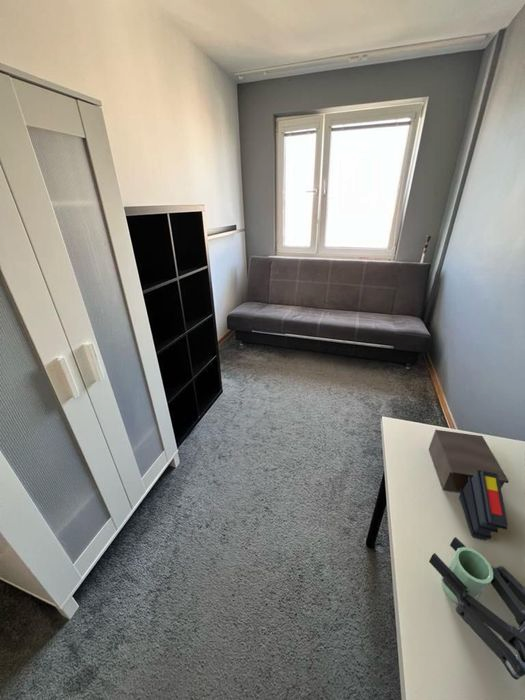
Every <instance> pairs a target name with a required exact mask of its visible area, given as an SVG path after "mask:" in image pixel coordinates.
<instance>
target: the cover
mask: <svg viewBox="0 0 525 700" xmlns="http://www.w3.org/2000/svg"><path fill="white" fill-rule="evenodd" d="M434 433H436V435H437V438H438V440H439V443H440V445H441V448H442V451H443V453H444V456H445V458H446V461H447V463H448V466H449V468H450V471H451V473H452V474H454V475H461V476H467V477H469V476H470V477H474V476H475V475H476V474H477V470H481V471H487V472H492V473H497V474H498V477H499V482H503V483H504V484H509V483H510V480H509V479H508V477H507V475H506V474H505V472H504V470H503V468H502V466H501V465H500V464H499V462H498V460H497V458H496V457H495V455H494V453H493V452H492V450H491V448H490V446H489V445H488V443H487V441H486V440H485V438H484V437H483V435H478V434H470V433H463V432H455V431H449V430H442V429H435V430H434Z"/></svg>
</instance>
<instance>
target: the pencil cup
mask: <svg viewBox="0 0 525 700" xmlns="http://www.w3.org/2000/svg"><path fill="white" fill-rule="evenodd" d="M446 566H447V567H448V568H449V569H450V570H451V571H452V572H453V573H454V574H455V575H456V576H457V577H458V578H459V579H460V580H461V582H462V583H463V584H464V585H465V586H466V587H467V588H466V590H467V591H468V594H469V595H470V596H472V597H473V598H474V599H476V600H477V601H478V600H479V598H480V597H481V596H482V594H483V593H484V592H485V590H486V589H487V588H488V587H489V585H490V584H491V583H490V582H491V581H492V580H493V570H492V568H491V567H492V565H491V564H490V562H489V561H488V560H487V559H486V557H485V556H483V555H482V553H480V552H479V551H477V550H475V549H474V548H471V547H467V546H466V547H462V548H459V549H458V550H457V551H455V552H454V554H453V555H452V557H451V559H450V561H449V563H448V565H446ZM442 579H443V577H442V576H441V587H442V588H443V590H444V592H445V594H446V595H447V597H448V598H449V599H451V601H453V602H454V603H455V604H457V603H458V599H457V597H456V596H455V595H454V594H453V593H452V592H451V591H450V589H449V588H448V587H447V586H446V585H445V584H444V582H443V581H442Z"/></svg>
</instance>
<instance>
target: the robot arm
mask: <svg viewBox="0 0 525 700" xmlns="http://www.w3.org/2000/svg"><path fill="white" fill-rule="evenodd" d="M449 546H450V547H451V549H453V550H454V551H455V552H456V551H457V550H458V549H459V548H462V547H467V546H466V545H465V544H464V543H463V542H461V540H459V538H458V537H456V536H455V537H453V538H452V540H451V542H450V544H449ZM428 562H429V563H430V565H432V567H433V568H434V569H435V570H436V571H437V572H438V574H439V575H440V576H441V582H442V581H443V582H444V584H445V585H446V586H447V587H448V588H449V589H450V591H451V592H452V593H453V594H454V595H455V596H456V597H457V599H458V603H456V607H455V611H456V613H457V615H459V617H460V618H461V619H462V620H463V621H464V622H465V623H466V624H467V625H468V626H469V627H470V629H472V630H473V632H474V633H475V634H476V635H477V636H478V637H479V638H480V639H481V640H482V642H483V643H485V645H486V646H487V647H488V648H489V649H490V650H491V651H492V653H494V655H495V656H496V657H498V659H499V660H500V661H501V663H502V664H503V666H504V667H505V669H506V671H507V672H508V674H509V675H510V676H511V678H513V680H515V681H516V680H520V678H522V677H523V676H525V587H524V586H523V584H522V583H521V582H519V580H518V579H517V578H516V577H514V575H512V573H510V572H509V571H508V570H507V569H506V568H505V567H504V566H503V565H499V566H497V567H493V566H491V568H492V570H493V580H492V581H491V582H490V583H489V584H490V585H491V587H493V588H494V590H495V591H496V593H497V594H498V595H499V597H500V598H501V600H502V601H503V602H504V604H505V605H506V607H507V608H508V610H509V611H510V612H511V614H512V615H513V616H514V618H515V622H516V623H517V624H518V626H519V627H518V628H517V627H515V626H514V625H512V624H509V623H508V622H507V621H505V620H503V619H502V618H501V617H500V616H498V615H497V614H495V613H494V612H493V611H492V610H491V609H489V608H488V607H487V606H485V605H483V604H482V603H481V602H480V601H479V600H478V599H477V600H476V599H474V598H473V597H472V596H470V595H469V594H468V591H467V590H466V588H467V587H466V586H465V585H464V584H463V583H462V582H461V580H460V579H459V578H458V577H457V576H456V575H455V574H454V573H453V572H452V571H451V570H450V569H449V568H448V567H447V566H448V565H447V564H446V563H445V562H444V561H443V560H442V559H441V558H440V557H439V556H438V555H437V553H435V552H434V553H432V554H431V556H430V558H429V561H428ZM442 577H443V579H442ZM496 633H497V634H498V635H499V636H500V637H501V638H502V640H501V638H499V636H498V635H497V634H496ZM503 641H504V642H503ZM506 643H507V644H508V645H509V646H510V647H511V648H513V649H514V650H515V651H517V654H518V655H515V654H514V652H512V650H511V649H510V648H509V647H508V646H507V644H506Z"/></svg>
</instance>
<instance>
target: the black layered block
mask: <svg viewBox="0 0 525 700" xmlns="http://www.w3.org/2000/svg"><path fill="white" fill-rule="evenodd" d="M458 499H459V502H460V505H461V508H462V511H463V515H464V516H465V520H466V524H467V526H468V531H469V533H470V536H471V537H472V538H474V539H477V540H478V539H479V540H483V541H487V540H492V533H498V532H499V530H498V529H502V530H508V527H509V523H508V519H507V512H506V509H505V503H504V498H503V493H502V488H501V487H500V482H499V477H498V474H497V473H492V472H487V471H481V470H477V474H476V475H475V476H474V477H470V476H469V477H468V483H467V484H466V485H465V487H464V488H462V487H461V488H460V493H459V496H458Z"/></svg>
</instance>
